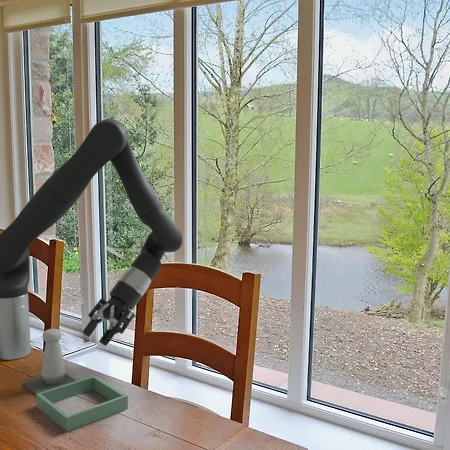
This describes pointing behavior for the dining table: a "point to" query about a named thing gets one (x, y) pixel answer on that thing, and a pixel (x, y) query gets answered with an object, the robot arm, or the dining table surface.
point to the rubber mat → (40, 384)
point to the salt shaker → (53, 358)
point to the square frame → (87, 415)
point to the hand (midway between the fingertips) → (93, 339)
